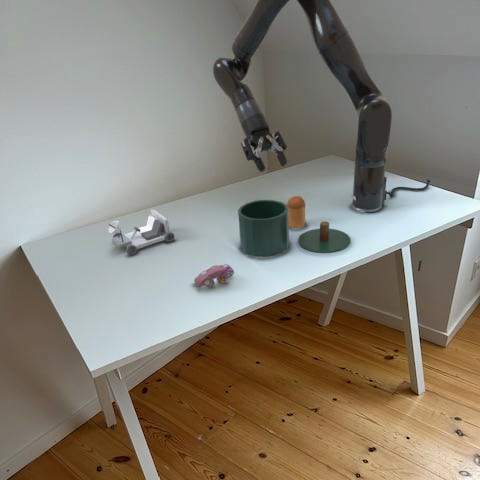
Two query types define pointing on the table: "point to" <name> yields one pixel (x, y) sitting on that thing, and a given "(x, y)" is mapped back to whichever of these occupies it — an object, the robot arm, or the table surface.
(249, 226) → the pot
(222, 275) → the video game controller
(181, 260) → the table surface
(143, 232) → the toy car
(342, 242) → the lid
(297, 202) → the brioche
